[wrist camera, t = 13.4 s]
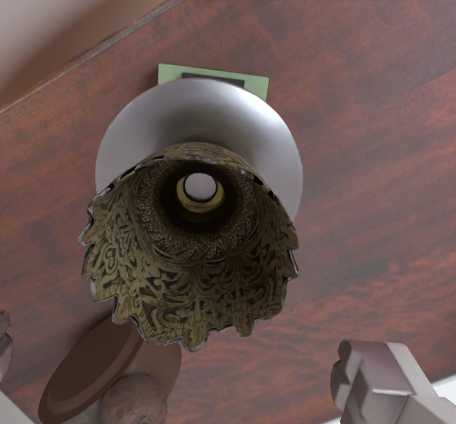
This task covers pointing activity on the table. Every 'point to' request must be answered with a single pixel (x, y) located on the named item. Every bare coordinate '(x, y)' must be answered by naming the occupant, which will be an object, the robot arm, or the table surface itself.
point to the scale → (214, 77)
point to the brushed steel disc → (204, 135)
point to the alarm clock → (112, 379)
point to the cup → (189, 247)
